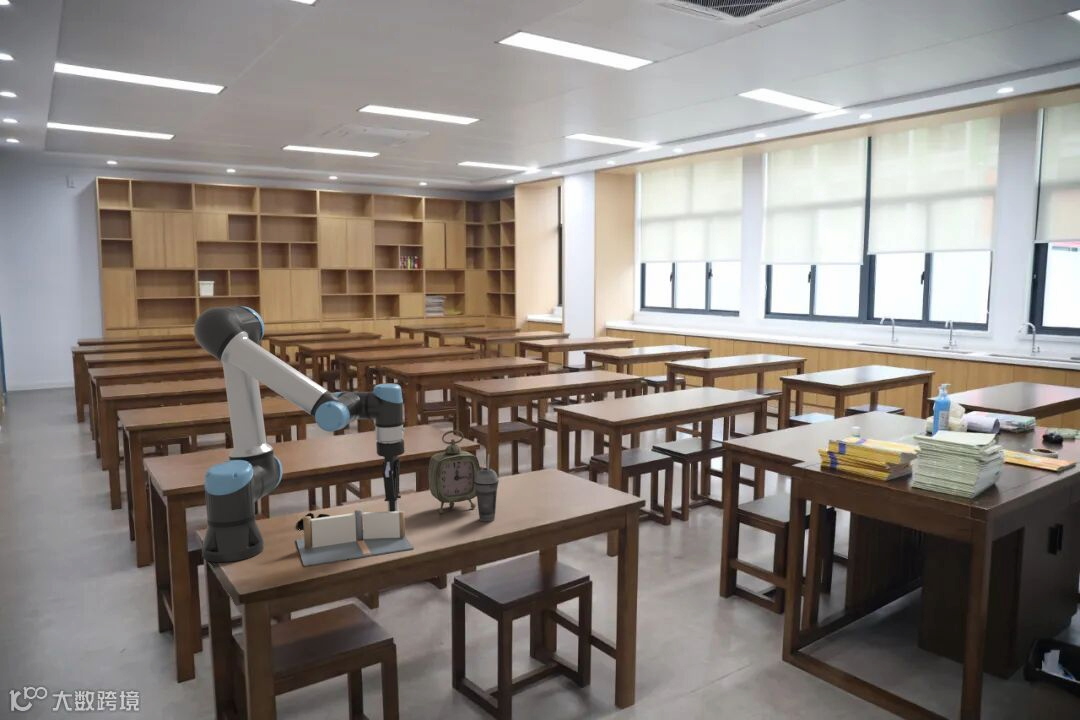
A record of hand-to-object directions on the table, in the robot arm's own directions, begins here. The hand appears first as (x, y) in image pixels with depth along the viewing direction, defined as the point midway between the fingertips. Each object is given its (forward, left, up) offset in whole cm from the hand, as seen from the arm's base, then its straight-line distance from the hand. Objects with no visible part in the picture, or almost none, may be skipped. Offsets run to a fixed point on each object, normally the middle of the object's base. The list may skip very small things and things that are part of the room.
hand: (393, 522), depth 203 cm
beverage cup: (+28, +2, -4) cm, 29 cm away
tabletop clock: (+22, +16, -4) cm, 28 cm away
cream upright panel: (-3, -2, -3) cm, 5 cm away
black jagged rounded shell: (-19, +20, -5) cm, 28 cm away
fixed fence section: (-17, 0, -4) cm, 17 cm away
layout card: (-12, -2, -4) cm, 12 cm away
